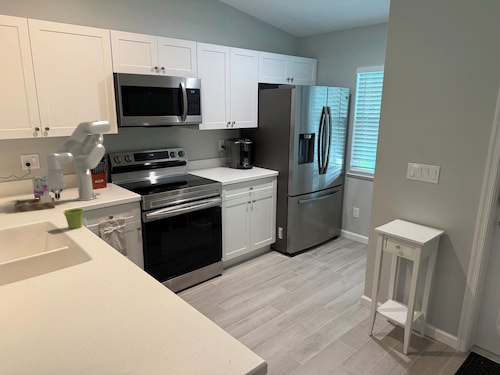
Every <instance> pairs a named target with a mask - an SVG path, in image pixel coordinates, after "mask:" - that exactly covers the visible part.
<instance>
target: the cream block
mask: <svg viewBox="0 0 500 375" xmlns="http://www.w3.org/2000/svg"><path fill="white" fill-rule="evenodd" d="M51 198H52V194H49V195H46V196H40V199H41V203H48V202H52V199H51Z"/></svg>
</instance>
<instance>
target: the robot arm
mask: <svg viewBox="0 0 500 375" xmlns="http://www.w3.org/2000/svg"><path fill="white" fill-rule="evenodd" d="M111 129H112V126H111V123H110V122H109V121H108V120H94V121H83V122H80V123H79V124H78V125H77V126H76V128H75V129H74V130H73V132H72V133H71V135H70V136H69V138H67V139H66V140H64V141H63V142H62V143H61V144H60V145H59V146H58V147H57V148H56V149H55V151H54V152H51V153H47V154H46V157H45V158H46V166H47V175H46V177H47V186H48V191H49V193H53V194H54V199H56V201H59V200H60V199H61V193H62V192H63V191H66V190H67V188H66V182H65V178H64V169H62V167H61V164H70V163H72V162H73V166H74V170H75V175H76V184H77V192H78V197H76V200H77V201H91V200H95V199H96V198H97V197H96V196H101V192H94V188H93V179H92V171H91V170H93V169H95V168H96V167H97V166H98V165H99V164H100V162H101V160H102V158H103V157H104V156H105V152H106V149H105V146H104V145H103V142H104V136H103V134H105V133H108V132H109V131H110V130H111ZM88 135H91V137H90V139H89V140H88V141H87V143H86V144H85V146H84V147H83V150H82V152H83V154H84V155H83V154H79V155H76V156H75V157H74V156H73V154H72V153H70V151H72V150H74V149H76V148H78V147H80V146H81V145H83V142H84V141H85V139H86V138H87V137H88ZM56 190H57V191H56Z"/></svg>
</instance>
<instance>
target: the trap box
mask: <svg viewBox="0 0 500 375" xmlns="http://www.w3.org/2000/svg"><path fill="white" fill-rule="evenodd" d="M51 199H52V202H48V203H41V199H35V198H34V199H26V200H20V199H17V200H15V203H14V211H15V214H17V213H26V212H35V211H43V210H50V209H52V210H53V209H56V201H55V196H54V197H51Z"/></svg>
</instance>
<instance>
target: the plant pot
mask: <svg viewBox="0 0 500 375" xmlns="http://www.w3.org/2000/svg"><path fill="white" fill-rule="evenodd" d="M62 213H63V215H64V216H65V220H66V222H67V227H68V228H69V229H71V230H72V229H74V230H75V229H79V228H81V227H83V214H84V208H72V209H67V210H65V211H64V210H63V212H62Z"/></svg>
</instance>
